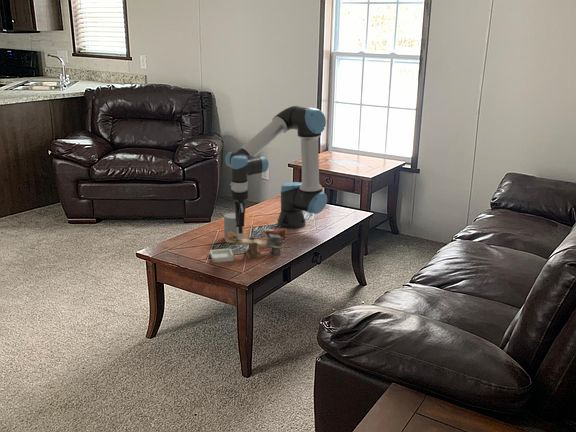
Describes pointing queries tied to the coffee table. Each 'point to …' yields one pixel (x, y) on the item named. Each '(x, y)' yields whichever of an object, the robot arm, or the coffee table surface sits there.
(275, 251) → the block
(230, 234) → the ball
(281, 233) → the bull figurine
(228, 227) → the grey metal can
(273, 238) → the lever
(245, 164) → the robot arm
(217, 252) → the dish
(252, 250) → the fulcrum
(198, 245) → the coffee table surface
